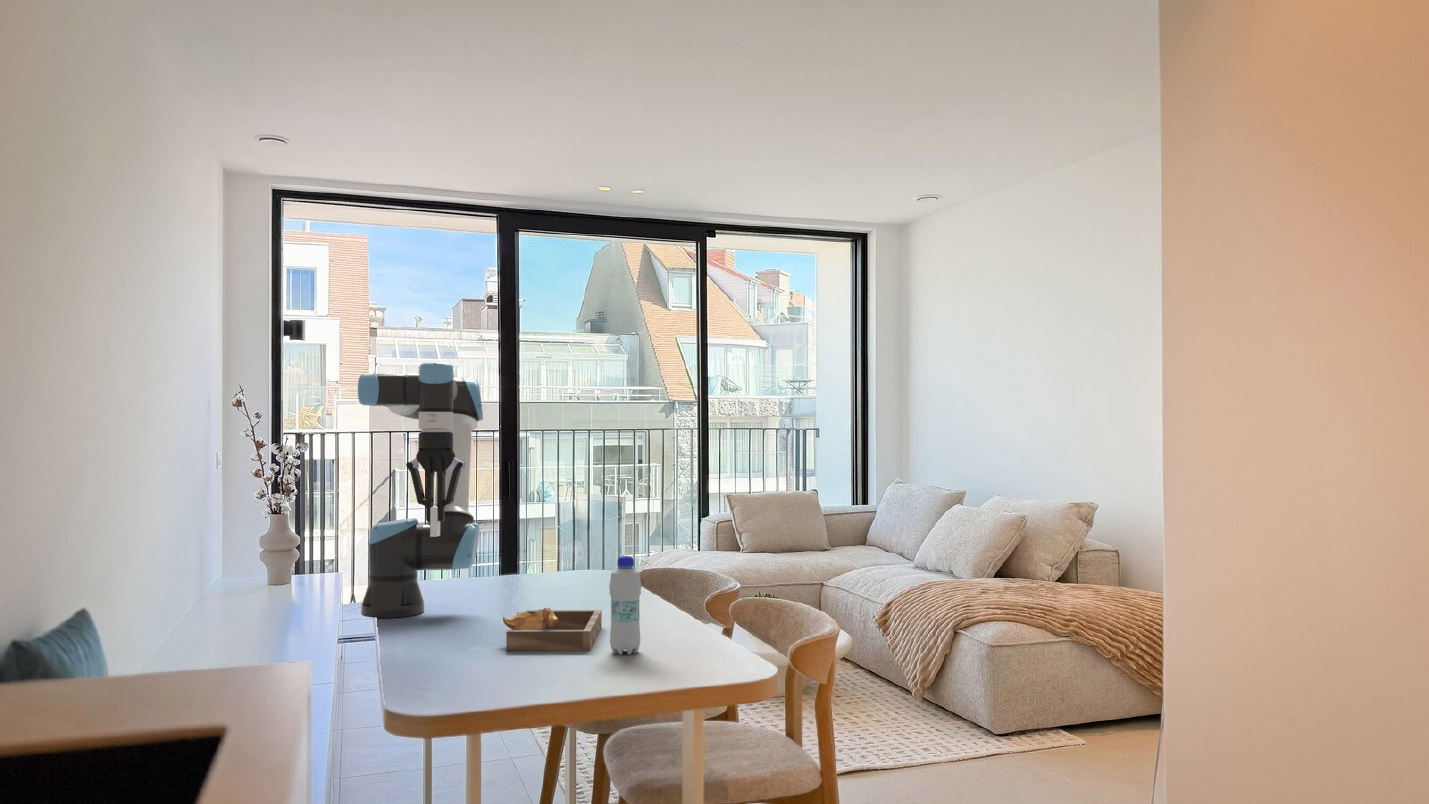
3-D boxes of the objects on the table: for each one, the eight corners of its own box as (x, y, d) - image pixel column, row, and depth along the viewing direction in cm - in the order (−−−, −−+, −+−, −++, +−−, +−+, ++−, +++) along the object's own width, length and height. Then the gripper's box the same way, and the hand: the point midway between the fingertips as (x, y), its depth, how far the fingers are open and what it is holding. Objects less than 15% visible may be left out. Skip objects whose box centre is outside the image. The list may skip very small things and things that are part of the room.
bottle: (646, 650, 205) (646, 554, 206) (633, 657, 199) (633, 558, 200) (617, 647, 208) (617, 553, 208) (603, 654, 201) (603, 557, 202)
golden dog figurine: (553, 637, 218) (553, 599, 219) (565, 646, 210) (565, 607, 210) (499, 642, 213) (499, 603, 214) (509, 651, 205) (510, 611, 205)
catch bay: (526, 627, 229) (526, 610, 229) (601, 627, 229) (601, 610, 229) (506, 650, 205) (506, 631, 205) (590, 650, 205) (590, 631, 205)
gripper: (401, 431, 217) (401, 537, 216) (460, 431, 217) (460, 537, 217) (411, 431, 224) (411, 534, 224) (468, 431, 225) (468, 534, 224)
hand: (435, 535), depth 220 cm, fingers closed
